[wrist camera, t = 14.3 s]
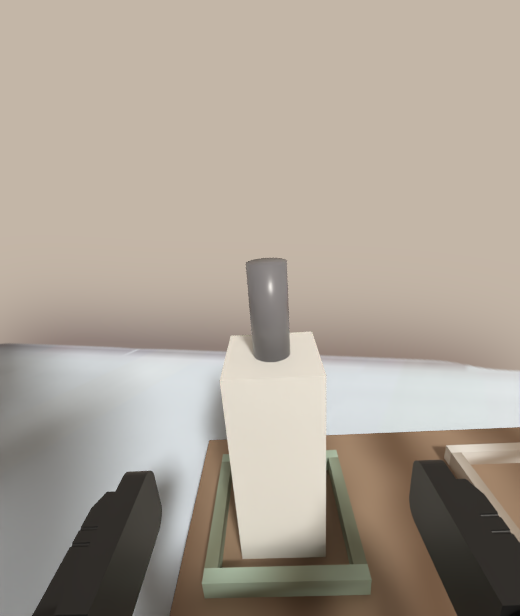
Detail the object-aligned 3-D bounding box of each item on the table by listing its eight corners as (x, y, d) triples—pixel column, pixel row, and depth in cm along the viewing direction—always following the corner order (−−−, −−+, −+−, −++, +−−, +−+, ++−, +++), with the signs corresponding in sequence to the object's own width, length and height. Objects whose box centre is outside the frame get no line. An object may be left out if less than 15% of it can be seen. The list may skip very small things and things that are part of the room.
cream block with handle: (242, 559, 15) (206, 278, 11) (247, 478, 20) (223, 253, 15) (325, 557, 15) (326, 270, 11) (312, 476, 20) (308, 248, 15)
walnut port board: (159, 688, 12) (150, 661, 11) (210, 449, 23) (207, 429, 23) (835, 680, 11) (866, 651, 11) (549, 435, 22) (555, 414, 22)
